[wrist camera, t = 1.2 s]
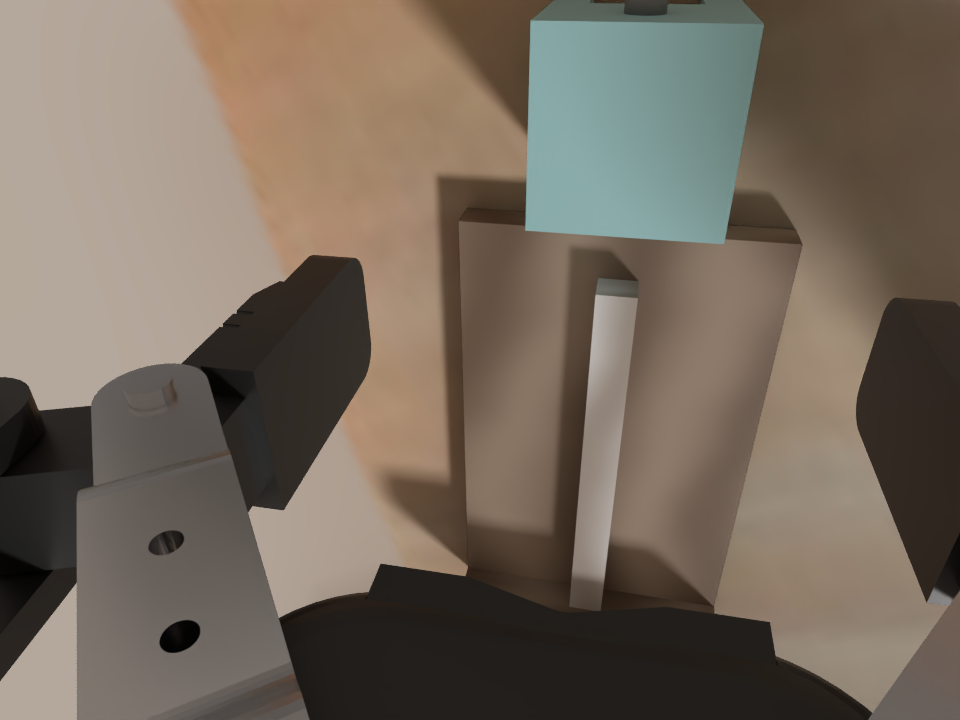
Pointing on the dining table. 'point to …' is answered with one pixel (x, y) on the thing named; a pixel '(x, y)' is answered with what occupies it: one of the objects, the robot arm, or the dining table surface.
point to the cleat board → (663, 411)
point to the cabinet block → (638, 117)
